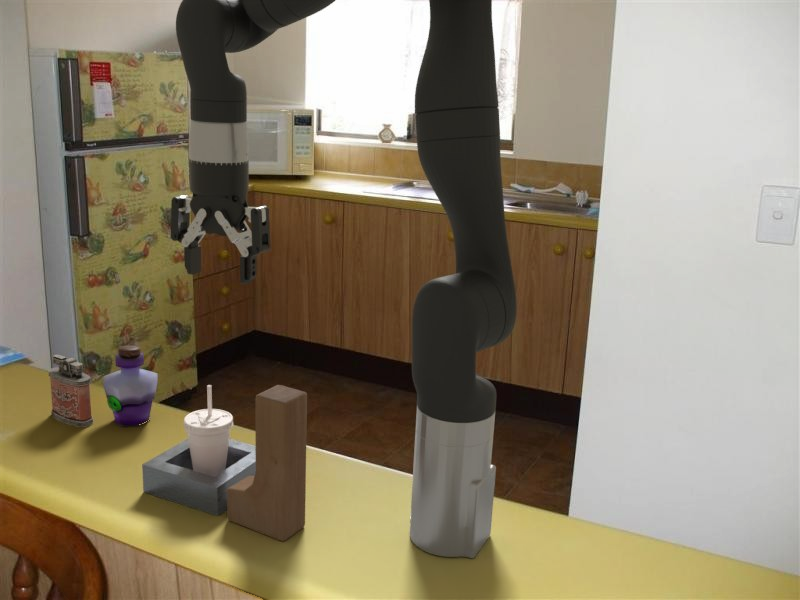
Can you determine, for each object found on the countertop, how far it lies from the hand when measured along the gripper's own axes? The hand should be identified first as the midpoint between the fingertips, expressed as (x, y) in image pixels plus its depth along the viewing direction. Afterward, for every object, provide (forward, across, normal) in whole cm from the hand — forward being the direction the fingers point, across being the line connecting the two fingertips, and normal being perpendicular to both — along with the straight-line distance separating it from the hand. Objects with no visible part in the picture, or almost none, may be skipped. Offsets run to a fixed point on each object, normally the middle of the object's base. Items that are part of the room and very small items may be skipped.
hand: (220, 278), depth 114 cm
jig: (+27, -3, +7) cm, 28 cm away
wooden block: (+27, -15, +12) cm, 33 cm away
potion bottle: (+27, +20, -4) cm, 34 cm away
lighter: (+27, +28, 0) cm, 39 cm away
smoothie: (+27, -3, +7) cm, 28 cm away
